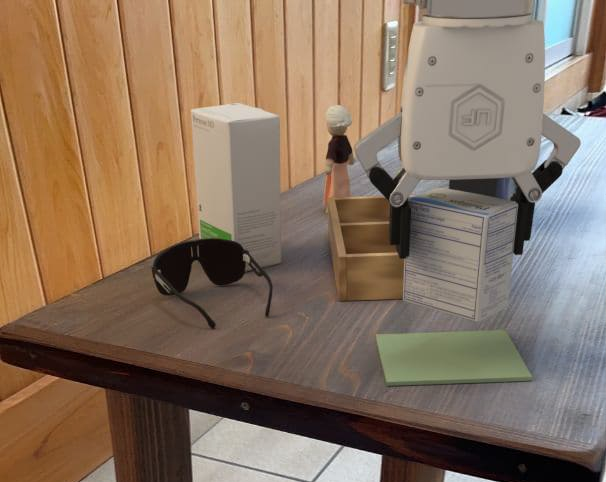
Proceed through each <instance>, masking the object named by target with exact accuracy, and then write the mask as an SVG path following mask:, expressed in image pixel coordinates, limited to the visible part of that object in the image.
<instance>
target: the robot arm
mask: <svg viewBox="0 0 606 482" xmlns="http://www.w3.org/2000/svg"><path fill="white" fill-rule="evenodd" d="M402 3H403V5H409V4H413V6H414V7H417V6H418V9H420V10H421V12H420V13H422V21H416V22H414V23H413V25H412V29H411V34H410V37H409V43H408V49H407V53H406V61H405V67H404V73H403V81H402V91H401V99H400V109H399V112H398V113H397V114H395V115H394V116H392V117H391V118H389V119H388V120H386V121H385V122H383V123H382V124H381V125H379V126H378V127H377V128H375V129H373V130H372V131H370V132H368V134H366V135H365V136H363V137H362V138H361V139H359V140H357V141H356V142H355V143H354V145H353V151H354V153H355V157H356V158H357V160H358V162H359V163H360V166H361V167H362V169H363V171H364V172H365V174H366V175H367V178H368V179H369V182H370V183H371V184H372V186H373V187H375V189H376V190H378V192H379V193H380V194H381V196H384V197H385V198H386V199H387V200H388V201H389V202H390V215H389V244H390V245H396V250H397V253H398V255H399V258H400V259H406V258H407V257H409V246H410V225H411V207H410V205H409V203H408V197H409V195H412V193H413V191H414V190H415V189H416V187H417V186H418V184H419V183H421V182H420V181H421V180H423V181H449V180H457V179H487V178H509V177H511V178H512V179H513V181H514V183H515V184H516V186H517V188H516V193H513V196H511V198H510V201H515V202H516V203H518V212H517V222H516V232H515V241H514V250H513V255H514V256H522V255H523V254H524V253H523V252H524V246H525V242H528V241H530V240H531V238H532V230H533V222H534V216H535V215H534V214H535V208H536V207H535V206H536V203H537V202H539V201H540V200H541V199H542V196H543V194H544V193H545V192H546V191H547V190H548V189H549V188H550V187H551V186H552V185H553V184H554V183H555V182H556V181H557V180H558V179H560V177H562V175H563V171H564V169H565V168H566V167H567V166H568V164H569V163H570V162H571V160H572V159H573V157H574V156H575V154H577V152H578V150H579V149H580V147H581V144H582V142H581V139H580V138H579V137H578V136H577V135H575V134H573V133H572V132H571V131H569V130H568V129H566V128H565V127H564V126H562V125H560V124H559V122H556V121H555V120H554V119H552V118H551V117H549V116H548V115H547V114H545V113H544V102H545V101H544V100H545V82H546V81H545V80H546V79H545V78H546V39H545V26H544V25H545V24H544V21H542V20H538V19H533V12H534V11H533V10H534V4H535V0H402ZM542 137H544V138H546V139H547V140H548V141H550V142H551V143H552V144H553V149H552V151H551V152H550V155H549V156H548V158H547V159H545V160H544V161H543V162H542V163H541V164H540V165H539V166H537V164H538V162H539V158H540V153H541V144H542ZM396 140H397V147H398V148H397V149H398V151H397V152H398V158H399V160H400V162H401V166H400V167H399V169H398V170H397V172H396V173H395V175H394V176H393V177H392V176H391V175H390V174H389V173H388V171H386V170H385V169H384V167H383V166H382V165H381V163H380V161H379V159H378V153H379V152H380V151H381V150H383V149H384V148H386V146H389V145H390V144H391V143H393V142H394V141H396ZM536 167H537V168H536Z"/></svg>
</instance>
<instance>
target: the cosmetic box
mask: <svg viewBox="0 0 606 482" xmlns="http://www.w3.org/2000/svg"><path fill="white" fill-rule="evenodd" d="M190 119H191V121H190V122H191V133H192V149H193V162H194V163H193V164H194V177H195V179H194V180H195V192H196V208H197V223H198V237H199V238H198V239H204V238H221V239H226V240H232V241H235V242H238V243H239V244H241V246H242V247H243V249H244V250H248V251H249V254H250V255H251V256H252V258H253V259H254V260H255V261H256V262H257V264H258V265H259V266H260V267H261V268H262V269H263V268H267V267H270V266H275V265H279V264H282V225H281V224H282V218H281V217H282V209H281V208H282V207H281V199H282V197H281V116H280V115H278V114H275V113H272V112H269V111H266V110H264V109H262V108H260V107H256V106H255V107H254V106H251V105H247V104H243V103H241V102H235V103H227V104H220V105H214V106H212V105H211V106H205V107H198V108H192V109H190ZM250 271H253V270H252V268H251V267H250V266H249V265H248V264H247V262H246V267H245V273H247V272H250Z"/></svg>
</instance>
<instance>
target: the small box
mask: <svg viewBox="0 0 606 482" xmlns="http://www.w3.org/2000/svg"><path fill="white" fill-rule="evenodd" d="M516 188H517V186H516V184H515V183H514V181H513V179H512V178H511V177H509V178H487V179H457V180H448V189H452V190H458V191H463V192H469V193H474V194H480V195H485V196H490V197H495V198H500V199H505V200H510V198H511V196H513V193H516Z"/></svg>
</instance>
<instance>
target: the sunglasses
mask: <svg viewBox="0 0 606 482" xmlns="http://www.w3.org/2000/svg"><path fill="white" fill-rule="evenodd" d="M196 261H197V262H199V265H200V266H201V268H202V270H203V272H204V274H205V275H206V277H207V278H208V280H209V281H210V282H211V283H212V284H213V285H215V286H228V285H231V284H234V283H237V282H238V281H240V280H241V279H243V277H244V276H245V274H246V272H245V267H246V262H247V264H248V265H249V266H250V267H251V268H252V270H251V271H253V272H254V273H255V274H256V276H257V277H258V278H260V277H261V278H262V277H263V278H264V279H265V281H266V282H267V284H268V288H269V290H268V291H269V292H268V298H267V303H266V308H265V310H264V311H265V312H264V316H265V317H266V318H269V316H270V312H271V311H270V309H271V304H272V299H273V282H272V279H271V277H270V276H269V274H268V273H267V271H265V270H264V269H263V268H261V267H260V266H259V265H258V264H257V262H256V261H255V260H254V259H253V258H252V256H251V255H250V254H249V251H248V250H244V249H243V247H242V246H241V244H239V243H238V242H235V241H232V240H226V239H221V238H204V239H200V238H197V239H191V240H186V241H182V242H179V243H176V244H173V245H171V246H169V247H167V248H166V249H164V250H162V251H161V252H159V253H158V254H157V255H156V257H155V258H154V260H153V263H152V264H153V265H152V266H151V267H150V268H151V274H152V278H153V280H154V283H155V286H156V289H157V291H158V292H159V294H161V295H162V296H167V297H169V296H170V297H171V296H176V297H177V298H178V299H179V300H181V301H182V302H183V303H186V304H187V305H190V306H191V307H193V308H195V309H196V310H197V311H198V312H199V313H200V314H201V315H202V317H203V318H204V319H205V320H206V323H207V325H208V327H210V328H211V329H216V325H217V324H216V322H215V321H214V320H213V319H212V318H211V317H210V315H209V314H208V312H206V311H205V309H204V308H202V307H201V306H200V305H199V304H197V303H196V302H194V301H192V300H191V299H188V298H186V297H185V296H184V295H182V293H183V292H185V290H186V289H187V287H188V285H189V281H190V277H191V273H192V268H193V263H194V262H196Z"/></svg>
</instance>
